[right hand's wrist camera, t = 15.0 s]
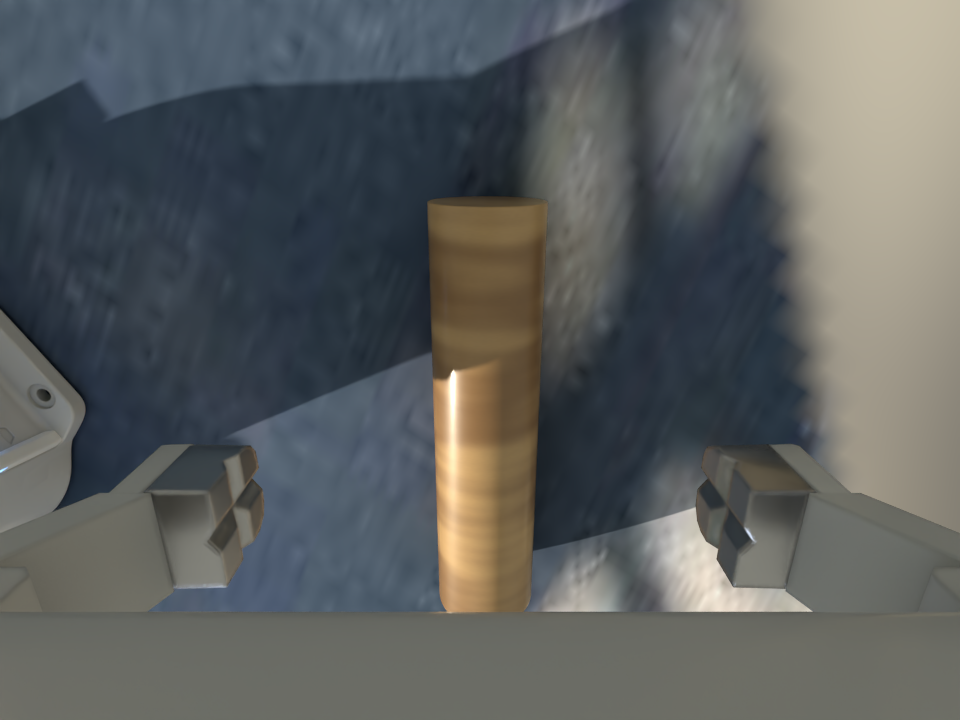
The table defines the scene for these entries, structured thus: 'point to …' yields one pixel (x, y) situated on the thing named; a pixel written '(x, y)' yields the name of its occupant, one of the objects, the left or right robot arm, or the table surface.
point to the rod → (486, 394)
